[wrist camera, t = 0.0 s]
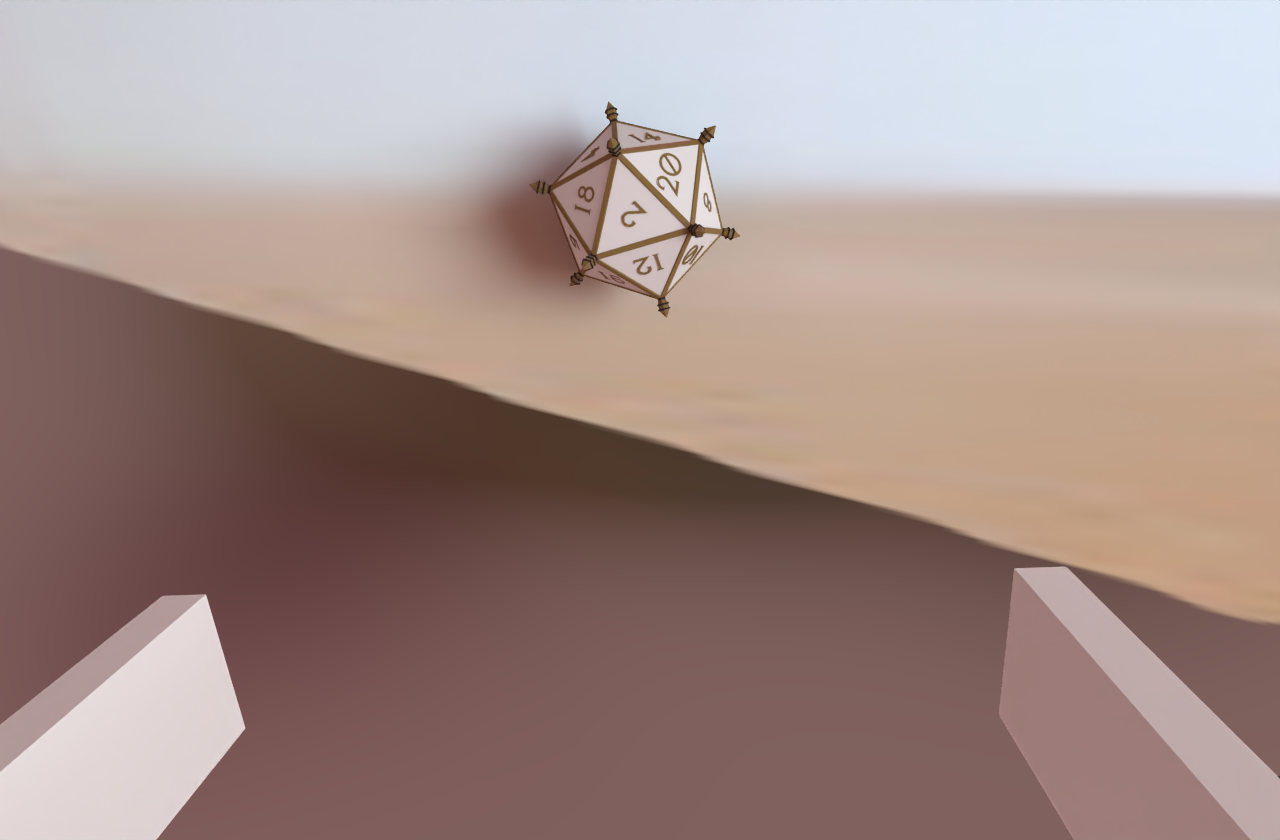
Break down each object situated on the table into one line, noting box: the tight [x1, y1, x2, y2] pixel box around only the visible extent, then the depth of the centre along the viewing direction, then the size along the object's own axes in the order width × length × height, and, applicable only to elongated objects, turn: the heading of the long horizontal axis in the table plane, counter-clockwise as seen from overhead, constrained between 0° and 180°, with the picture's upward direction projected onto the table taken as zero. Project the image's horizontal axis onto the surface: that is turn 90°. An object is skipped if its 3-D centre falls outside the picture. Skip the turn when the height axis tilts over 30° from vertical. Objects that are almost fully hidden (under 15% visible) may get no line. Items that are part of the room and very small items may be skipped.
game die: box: [530, 102, 740, 317], centre depth 33 cm, size 9×8×10 cm
